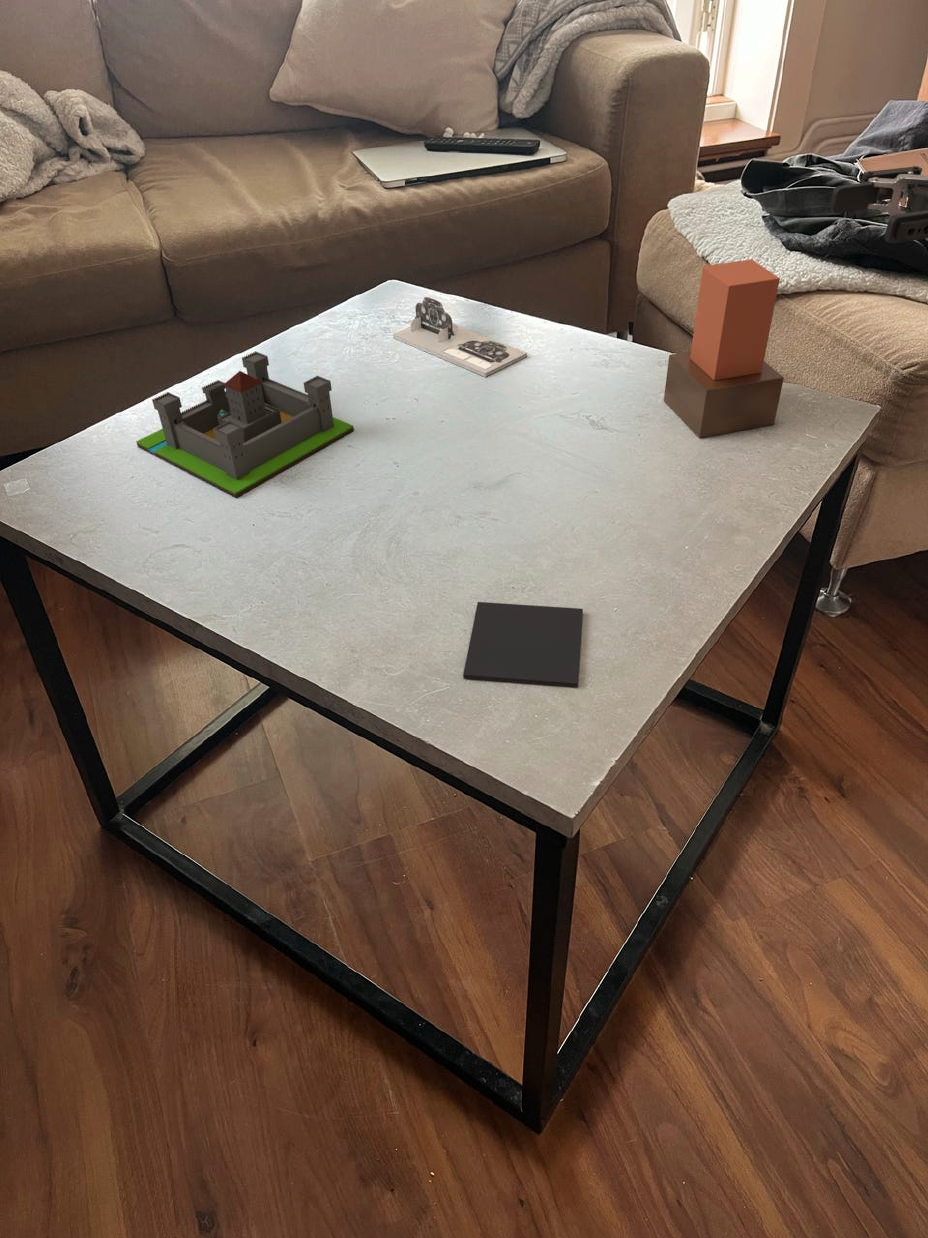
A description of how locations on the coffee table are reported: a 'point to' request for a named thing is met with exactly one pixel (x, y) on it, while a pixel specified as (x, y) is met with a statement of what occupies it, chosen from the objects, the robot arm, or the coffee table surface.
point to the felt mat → (525, 644)
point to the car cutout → (456, 341)
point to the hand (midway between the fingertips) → (860, 214)
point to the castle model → (245, 428)
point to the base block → (721, 397)
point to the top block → (733, 318)
